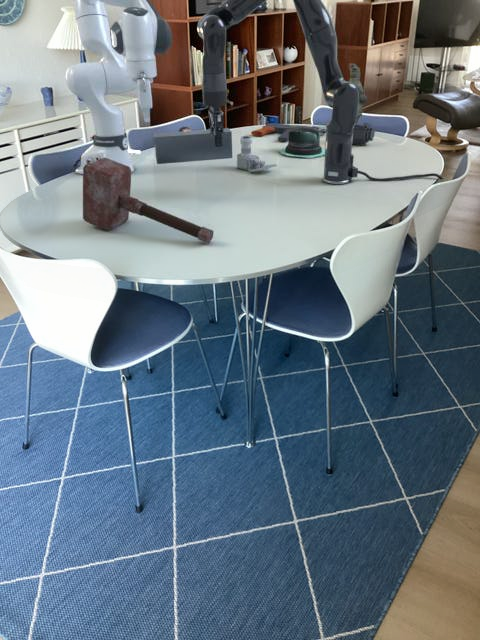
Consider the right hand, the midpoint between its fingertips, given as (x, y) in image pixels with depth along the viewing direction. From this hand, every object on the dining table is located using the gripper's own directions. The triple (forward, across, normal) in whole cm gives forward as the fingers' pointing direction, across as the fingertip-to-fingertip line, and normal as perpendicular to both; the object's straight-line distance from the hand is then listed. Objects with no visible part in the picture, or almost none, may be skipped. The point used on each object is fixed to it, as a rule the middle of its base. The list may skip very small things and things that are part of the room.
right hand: (217, 144), depth 179 cm
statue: (+18, +82, -80) cm, 115 cm away
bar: (+4, 0, +8) cm, 9 cm away
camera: (+17, +26, -18) cm, 36 cm away
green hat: (+17, +48, -44) cm, 67 cm away
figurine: (+17, +75, -4) cm, 77 cm away
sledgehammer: (+17, -30, +25) cm, 42 cm away
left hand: (-9, +1, +22) cm, 24 cm away
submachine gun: (+18, +80, -45) cm, 93 cm away
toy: (+18, +56, -71) cm, 92 cm away
